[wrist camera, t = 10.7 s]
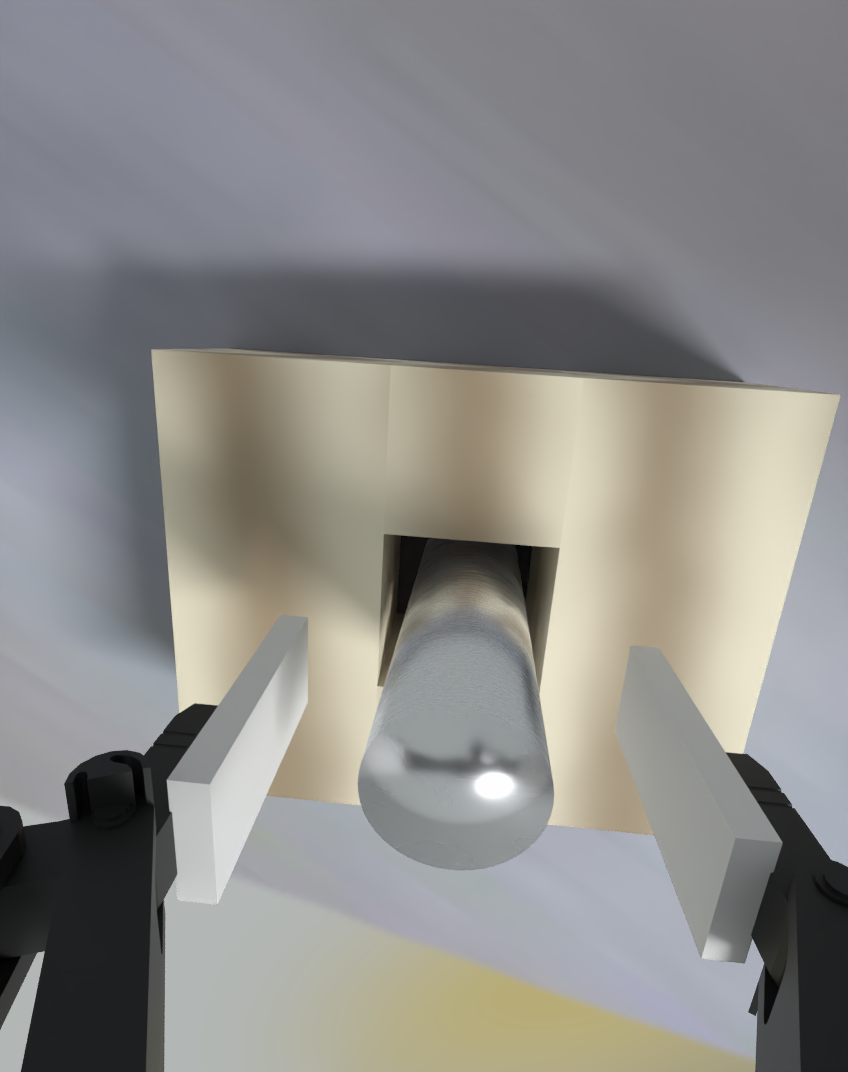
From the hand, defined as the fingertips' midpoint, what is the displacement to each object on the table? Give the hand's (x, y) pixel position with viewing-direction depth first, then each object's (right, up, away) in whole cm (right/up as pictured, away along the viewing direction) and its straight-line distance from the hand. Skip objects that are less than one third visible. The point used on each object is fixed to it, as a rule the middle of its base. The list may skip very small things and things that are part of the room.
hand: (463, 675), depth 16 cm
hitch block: (+1, +3, +9) cm, 9 cm away
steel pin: (+1, +3, +9) cm, 9 cm away
